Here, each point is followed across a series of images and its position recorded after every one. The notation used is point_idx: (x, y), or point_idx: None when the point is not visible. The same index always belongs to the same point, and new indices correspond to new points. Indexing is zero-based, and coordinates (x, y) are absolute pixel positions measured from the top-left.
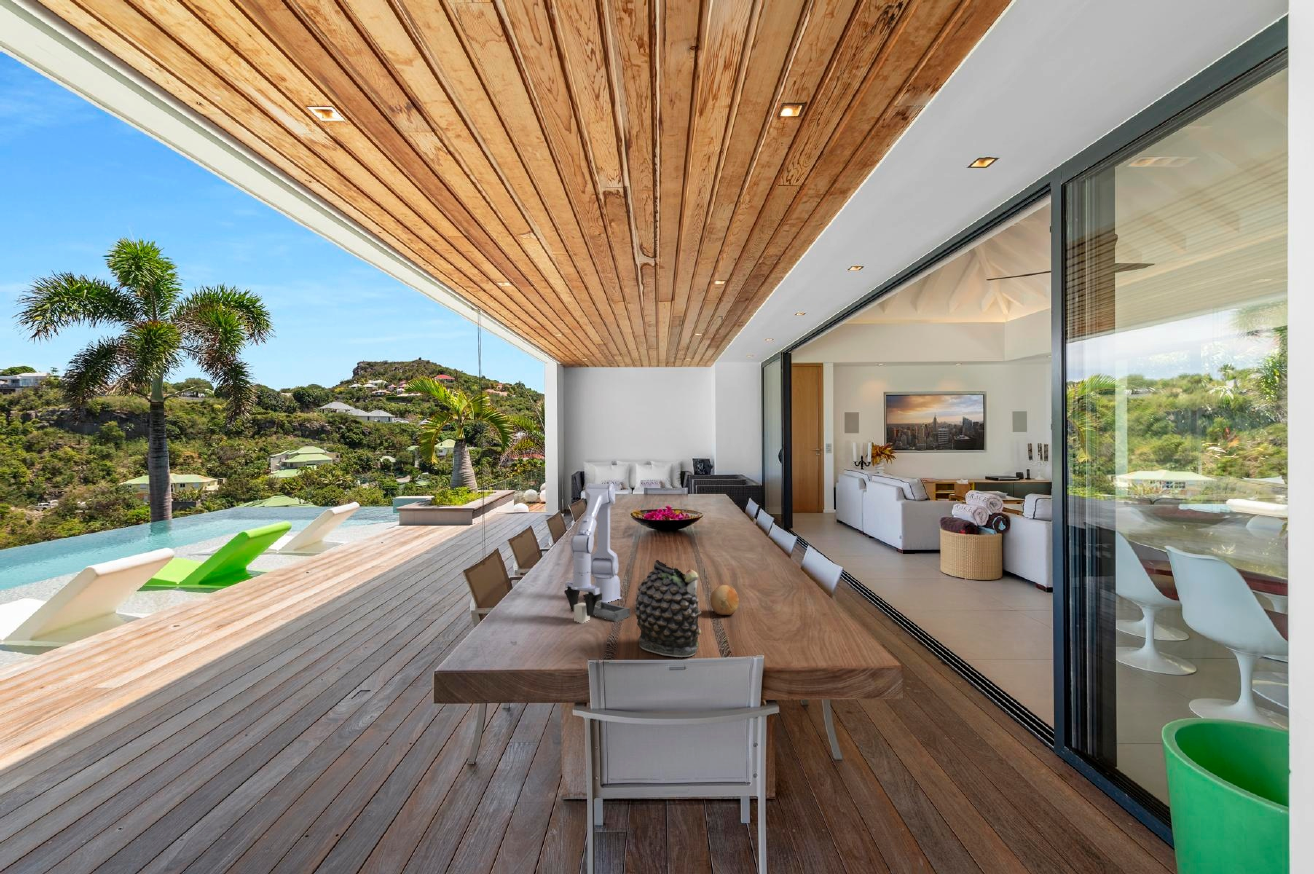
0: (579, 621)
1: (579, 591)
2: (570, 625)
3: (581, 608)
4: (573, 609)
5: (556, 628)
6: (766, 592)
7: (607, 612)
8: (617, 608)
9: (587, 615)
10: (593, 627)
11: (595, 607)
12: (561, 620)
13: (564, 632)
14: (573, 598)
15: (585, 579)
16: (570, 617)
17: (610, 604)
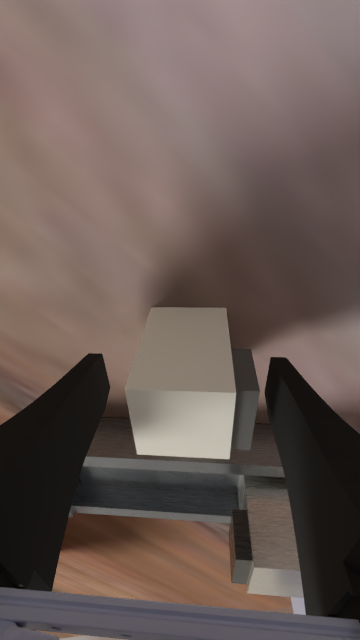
0: (171, 311)
1: (303, 578)
2: (172, 229)
3: (131, 377)
4: (248, 362)
5: (200, 73)
6: (48, 632)
7: (97, 450)
8: (132, 499)
9: (95, 354)
10: (34, 300)
11: (205, 467)
12: (319, 263)
13: (46, 46)
14: (302, 465)
15: None
16: (304, 341)
17: (184, 515)
